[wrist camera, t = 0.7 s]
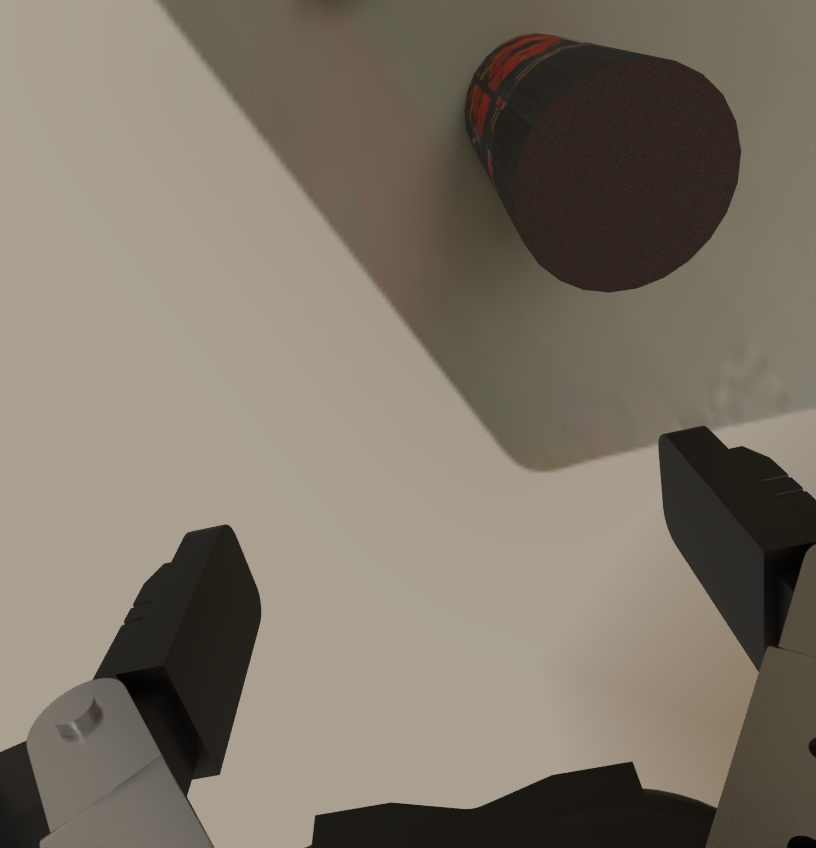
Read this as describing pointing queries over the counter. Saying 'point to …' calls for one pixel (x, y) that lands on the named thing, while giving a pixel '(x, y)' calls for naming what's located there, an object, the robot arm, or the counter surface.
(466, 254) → the counter surface
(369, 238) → the counter surface
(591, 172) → the deodorant
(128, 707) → the robot arm
